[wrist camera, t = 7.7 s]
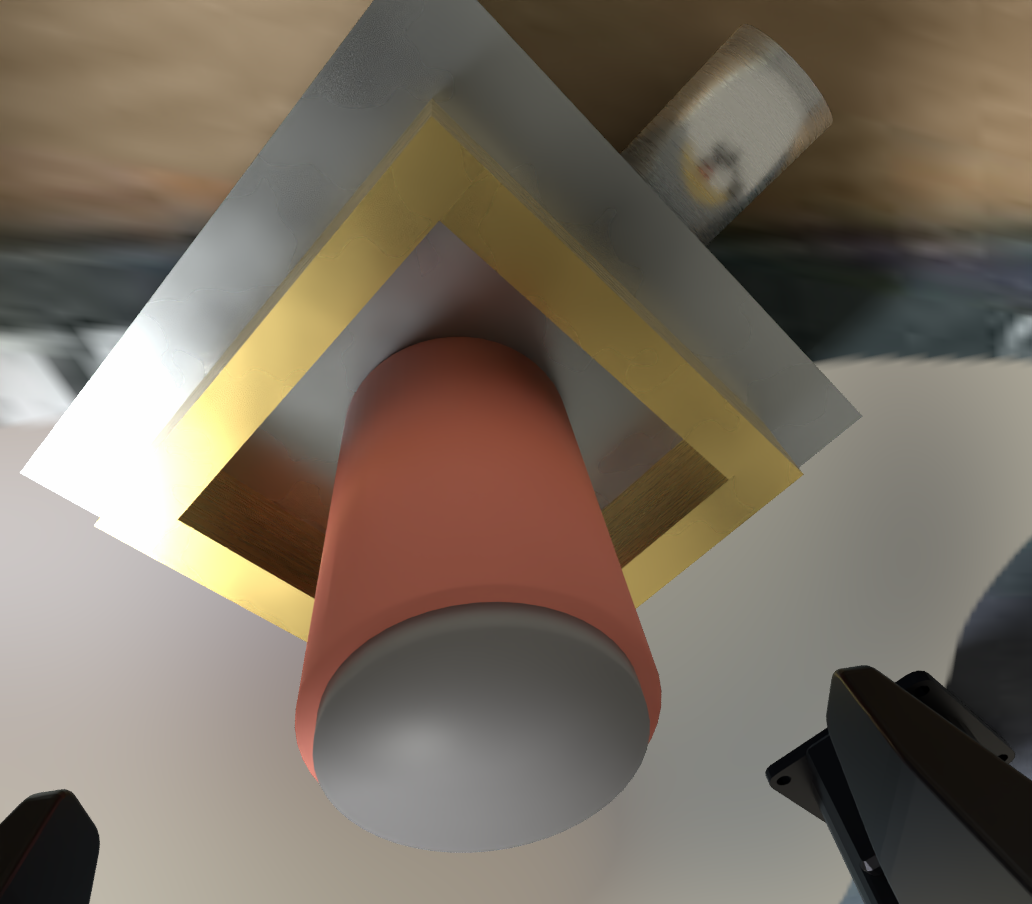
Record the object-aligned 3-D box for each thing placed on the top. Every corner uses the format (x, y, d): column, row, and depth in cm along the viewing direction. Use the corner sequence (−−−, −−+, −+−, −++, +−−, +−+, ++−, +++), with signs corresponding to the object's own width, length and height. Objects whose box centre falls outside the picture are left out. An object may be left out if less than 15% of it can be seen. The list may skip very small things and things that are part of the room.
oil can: (613, 430, 16) (744, 725, 9) (465, 564, 17) (493, 900, 11) (448, 288, 14) (473, 539, 8) (296, 452, 15) (210, 780, 9)
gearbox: (908, 267, 18) (1059, 355, 13) (472, 642, 22) (481, 795, 18) (539, -208, 13) (592, -307, 8) (80, 402, 18) (-34, 535, 13)
